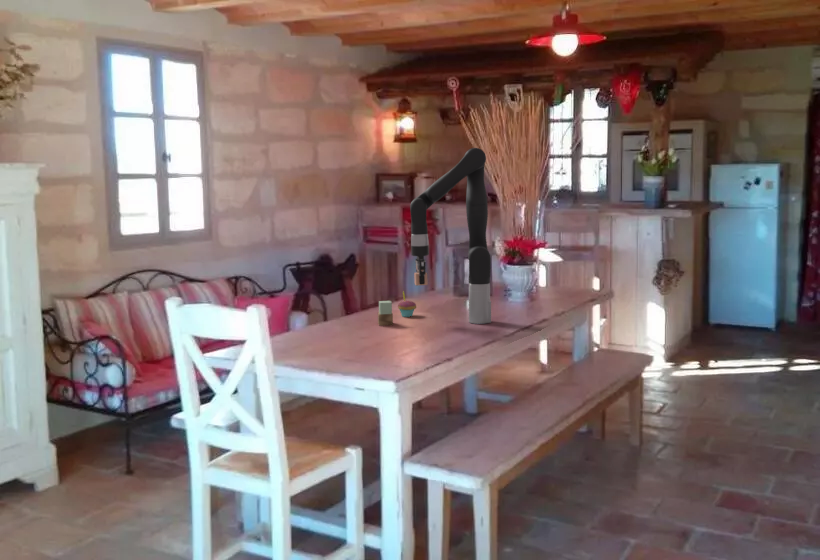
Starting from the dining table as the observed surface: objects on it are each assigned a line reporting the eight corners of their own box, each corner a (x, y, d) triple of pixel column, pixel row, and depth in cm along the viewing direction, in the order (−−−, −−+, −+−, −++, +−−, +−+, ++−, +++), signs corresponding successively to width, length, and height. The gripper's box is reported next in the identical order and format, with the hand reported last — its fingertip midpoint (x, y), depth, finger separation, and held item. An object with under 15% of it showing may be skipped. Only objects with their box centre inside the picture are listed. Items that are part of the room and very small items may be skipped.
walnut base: (391, 323, 378) (391, 311, 378) (392, 325, 373) (392, 314, 372) (378, 323, 378) (377, 312, 377) (379, 326, 372) (378, 314, 371)
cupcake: (395, 317, 392) (394, 291, 390) (402, 314, 400) (401, 288, 398) (412, 318, 389) (412, 291, 387) (419, 314, 397) (419, 289, 395)
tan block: (426, 283, 377) (425, 272, 377) (427, 284, 373) (427, 273, 372) (414, 284, 377) (414, 272, 376) (416, 285, 372) (415, 274, 371)
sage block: (390, 312, 377) (390, 300, 377) (391, 313, 372) (391, 302, 372) (379, 312, 376) (378, 301, 376) (380, 314, 372) (380, 302, 371)
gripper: (430, 245, 366) (432, 285, 368) (426, 242, 380) (427, 280, 382) (413, 246, 365) (414, 286, 367) (409, 243, 379) (410, 281, 381)
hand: (421, 283), depth 375 cm, fingers closed on tan block, 5 cm apart
